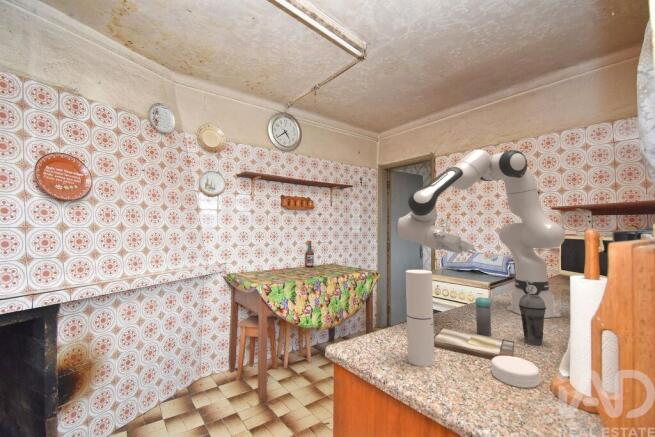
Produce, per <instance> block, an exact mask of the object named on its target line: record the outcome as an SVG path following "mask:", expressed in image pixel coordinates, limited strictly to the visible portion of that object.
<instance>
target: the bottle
mask: <svg viewBox="0 0 655 437" xmlns="http://www.w3.org/2000/svg"><path fill="white" fill-rule="evenodd" d="M491 306H492V304H491V299H489V298H486V297H476V298H475V313H476V314H475V315H476V316H475V317H476V319H475V320H476V334H477V335H482V336H488V337H492V323H491V322H492V320H491V319H492V318H491Z"/></svg>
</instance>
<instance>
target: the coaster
mask: <svg viewBox="0 0 655 437" xmlns="http://www.w3.org/2000/svg"><path fill="white" fill-rule="evenodd" d="M490 361H491V362H490V363H491V370H490V371H491V373H492V375H493V377H494V378H495V379H497V380H499V381H500V382H502V383H504V384H506V385H510V386H512V387H517V388H522V389H532V388H536V387H538V386H539V384H540V370H539V368H538V366H536V365H535V364H534V363H532V362H530V361H529V360H527V359H524V358H520V357H517V356H513V357H512V356H497V357H494V358H493V359H492V360H490Z"/></svg>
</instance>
